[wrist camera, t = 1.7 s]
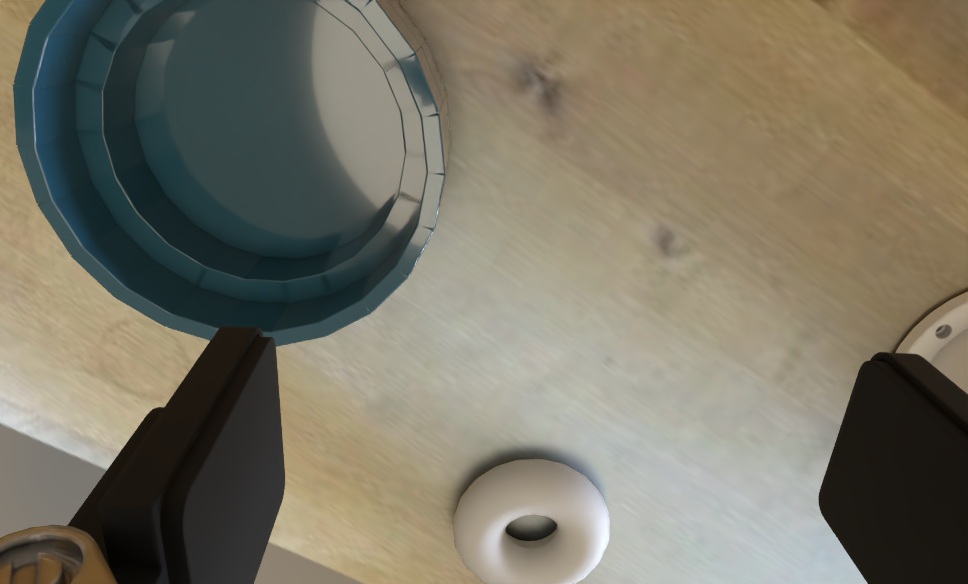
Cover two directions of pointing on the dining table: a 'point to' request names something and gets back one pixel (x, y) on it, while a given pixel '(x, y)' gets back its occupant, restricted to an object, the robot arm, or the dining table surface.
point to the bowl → (235, 155)
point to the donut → (531, 491)
